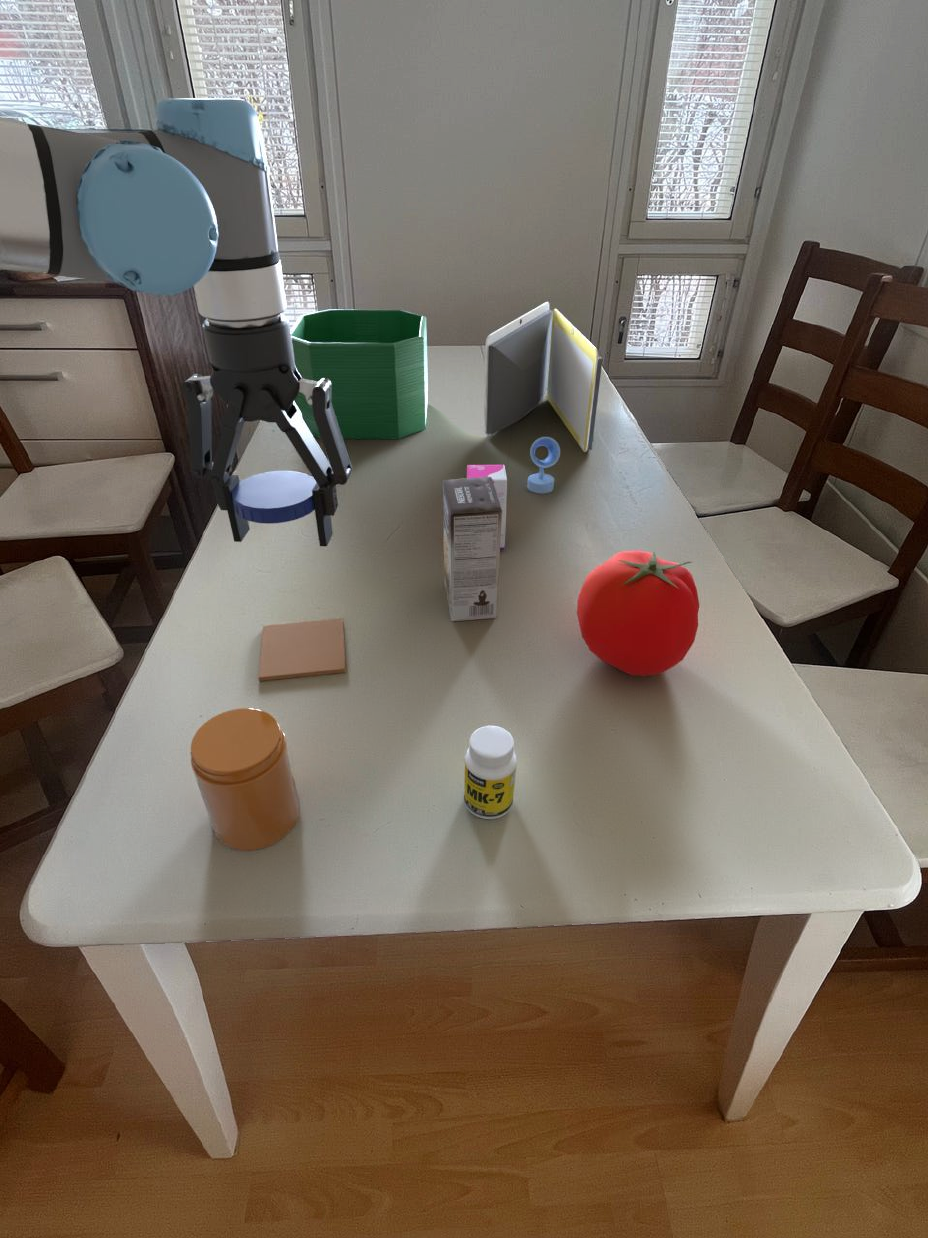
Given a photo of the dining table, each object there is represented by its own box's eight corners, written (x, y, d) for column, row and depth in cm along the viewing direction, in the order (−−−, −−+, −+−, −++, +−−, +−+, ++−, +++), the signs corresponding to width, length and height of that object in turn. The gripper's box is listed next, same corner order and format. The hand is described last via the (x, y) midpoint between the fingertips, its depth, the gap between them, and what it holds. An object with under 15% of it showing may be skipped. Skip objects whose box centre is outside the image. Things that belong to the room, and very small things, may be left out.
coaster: (258, 681, 80) (258, 677, 80) (264, 629, 88) (263, 625, 88) (345, 672, 82) (345, 668, 81) (343, 621, 89) (342, 617, 89)
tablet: (604, 452, 132) (619, 347, 121) (493, 460, 129) (497, 352, 117) (554, 390, 160) (562, 300, 148) (462, 395, 157) (462, 303, 145)
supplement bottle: (458, 815, 65) (458, 755, 60) (470, 777, 69) (471, 717, 64) (508, 825, 65) (512, 765, 60) (517, 786, 68) (522, 727, 63)
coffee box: (442, 583, 97) (441, 477, 87) (487, 580, 97) (491, 475, 88) (450, 623, 89) (450, 512, 80) (499, 619, 90) (504, 509, 80)
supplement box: (502, 531, 108) (506, 463, 101) (504, 551, 103) (508, 481, 97) (465, 531, 108) (466, 463, 101) (466, 551, 103) (466, 481, 96)
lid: (326, 484, 76) (324, 470, 75) (312, 524, 69) (310, 508, 68) (246, 484, 76) (243, 469, 75) (224, 523, 69) (220, 508, 68)
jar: (207, 856, 62) (179, 780, 55) (218, 786, 68) (194, 710, 62) (298, 844, 63) (281, 768, 57) (300, 776, 69) (285, 701, 63)
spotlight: (556, 497, 117) (552, 479, 123) (562, 441, 111) (558, 425, 117) (527, 497, 117) (525, 479, 123) (531, 441, 111) (528, 425, 117)
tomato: (708, 689, 80) (737, 592, 71) (595, 705, 77) (612, 606, 69) (652, 610, 92) (671, 519, 84) (553, 622, 90) (563, 529, 81)
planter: (293, 439, 136) (279, 343, 125) (314, 393, 157) (303, 308, 146) (425, 439, 137) (422, 344, 126) (428, 394, 157) (426, 309, 146)
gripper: (372, 308, 63) (388, 525, 77) (147, 302, 65) (202, 515, 78) (354, 331, 57) (374, 561, 71) (107, 323, 59) (173, 550, 73)
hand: (284, 537), depth 75 cm, fingers closed on lid, 9 cm apart
